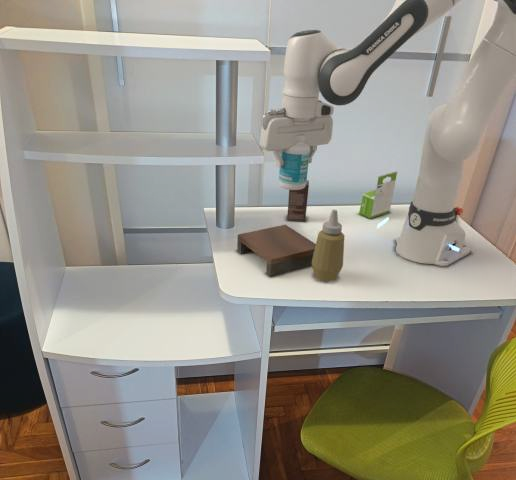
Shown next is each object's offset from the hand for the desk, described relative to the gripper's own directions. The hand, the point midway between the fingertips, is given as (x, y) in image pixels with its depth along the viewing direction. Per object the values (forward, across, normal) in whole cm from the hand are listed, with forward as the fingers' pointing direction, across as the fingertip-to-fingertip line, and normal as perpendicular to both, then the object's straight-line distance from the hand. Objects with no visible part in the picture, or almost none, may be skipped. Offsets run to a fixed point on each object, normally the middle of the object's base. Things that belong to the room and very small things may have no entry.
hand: (294, 164), depth 132 cm
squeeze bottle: (+24, -1, -20) cm, 31 cm away
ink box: (+23, +41, +8) cm, 48 cm away
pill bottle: (+6, 0, 0) cm, 6 cm away
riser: (+23, -6, -5) cm, 25 cm away
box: (+24, +14, +16) cm, 32 cm away
